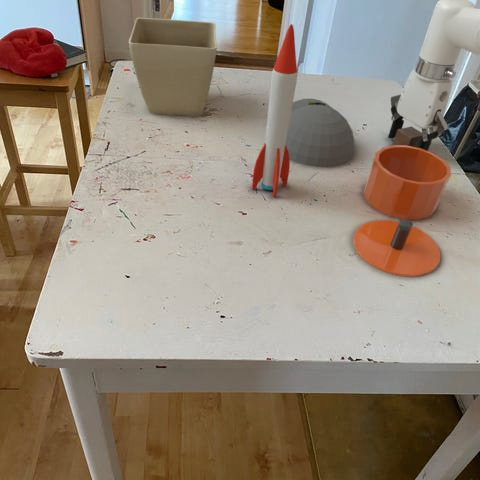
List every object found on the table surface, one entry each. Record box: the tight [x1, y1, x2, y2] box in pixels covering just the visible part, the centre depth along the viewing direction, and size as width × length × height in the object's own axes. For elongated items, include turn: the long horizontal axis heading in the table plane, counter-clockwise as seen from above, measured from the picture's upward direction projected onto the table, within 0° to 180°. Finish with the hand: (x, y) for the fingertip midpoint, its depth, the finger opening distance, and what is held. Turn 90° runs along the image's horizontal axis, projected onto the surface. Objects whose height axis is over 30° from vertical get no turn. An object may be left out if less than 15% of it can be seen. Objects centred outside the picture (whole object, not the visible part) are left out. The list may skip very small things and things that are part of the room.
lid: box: [352, 219, 441, 278], centre depth 84 cm, size 16×16×6 cm
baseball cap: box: [286, 98, 355, 168], centre depth 109 cm, size 19×26×12 cm
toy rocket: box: [251, 23, 298, 199], centre depth 86 cm, size 6×6×30 cm
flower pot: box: [128, 17, 218, 117], centre depth 114 cm, size 19×19×17 cm
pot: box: [363, 144, 452, 221], centre depth 94 cm, size 15×15×8 cm
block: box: [392, 126, 423, 147], centre depth 111 cm, size 5×5×5 cm
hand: (406, 145), depth 112 cm, fingers open, 8 cm apart
